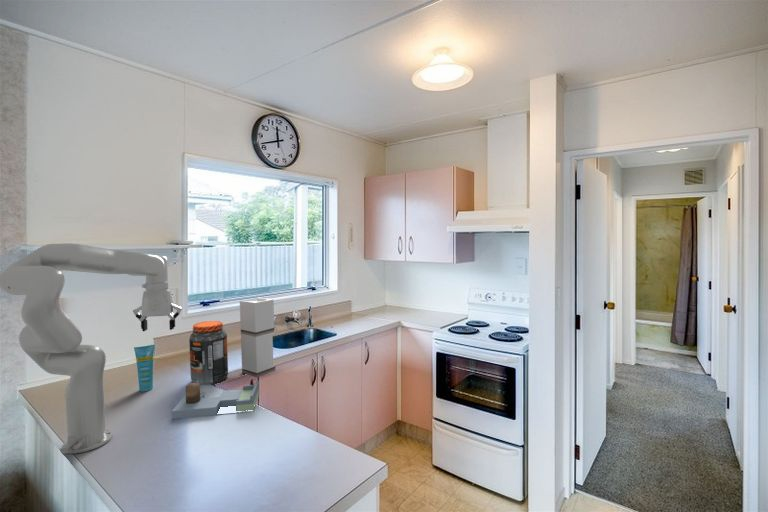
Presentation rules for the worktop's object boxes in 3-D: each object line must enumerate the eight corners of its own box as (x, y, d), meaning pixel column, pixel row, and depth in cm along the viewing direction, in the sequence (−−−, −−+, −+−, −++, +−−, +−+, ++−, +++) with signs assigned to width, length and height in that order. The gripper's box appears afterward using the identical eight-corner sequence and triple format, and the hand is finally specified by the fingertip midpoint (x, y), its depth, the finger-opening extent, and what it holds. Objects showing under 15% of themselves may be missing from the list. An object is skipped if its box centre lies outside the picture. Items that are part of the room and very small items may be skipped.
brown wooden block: (198, 403, 142) (197, 387, 142) (184, 404, 141) (183, 388, 141) (202, 397, 147) (201, 382, 146) (188, 398, 146) (187, 383, 146)
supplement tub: (187, 378, 175) (184, 323, 174) (222, 370, 185) (220, 318, 184) (196, 388, 163) (193, 329, 162) (233, 379, 173) (231, 323, 172)
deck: (253, 411, 141) (252, 395, 140) (172, 419, 136) (171, 402, 135) (259, 395, 156) (258, 380, 155) (186, 401, 150) (185, 386, 150)
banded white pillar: (275, 370, 184) (273, 299, 182) (257, 377, 175) (254, 302, 173) (260, 366, 190) (258, 297, 188) (242, 372, 182) (239, 300, 180)
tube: (136, 393, 159) (133, 348, 158) (136, 389, 163) (133, 345, 162) (156, 389, 163) (154, 345, 162) (156, 385, 167) (154, 342, 166)
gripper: (128, 288, 143) (129, 333, 144) (178, 287, 147) (179, 330, 148) (136, 286, 151) (138, 329, 151) (183, 285, 155) (185, 326, 155)
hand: (158, 329), depth 150 cm, fingers open, 9 cm apart
